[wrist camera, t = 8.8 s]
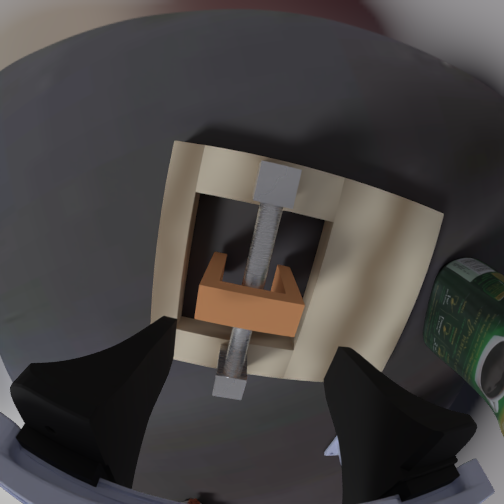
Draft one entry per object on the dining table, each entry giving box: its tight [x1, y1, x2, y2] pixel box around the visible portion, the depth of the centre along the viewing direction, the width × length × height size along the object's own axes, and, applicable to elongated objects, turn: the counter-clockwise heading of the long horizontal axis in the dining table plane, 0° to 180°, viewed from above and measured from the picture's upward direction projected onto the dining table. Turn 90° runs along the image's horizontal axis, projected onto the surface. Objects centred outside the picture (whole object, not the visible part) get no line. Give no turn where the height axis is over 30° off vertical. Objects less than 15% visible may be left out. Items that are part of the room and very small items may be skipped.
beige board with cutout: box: [151, 141, 444, 382], centre depth 19 cm, size 20×16×2 cm
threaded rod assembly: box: [212, 161, 302, 400], centre depth 16 cm, size 2×15×4 cm, turn 168°
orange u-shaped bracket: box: [194, 252, 305, 337], centre depth 17 cm, size 5×2×6 cm, turn 78°
